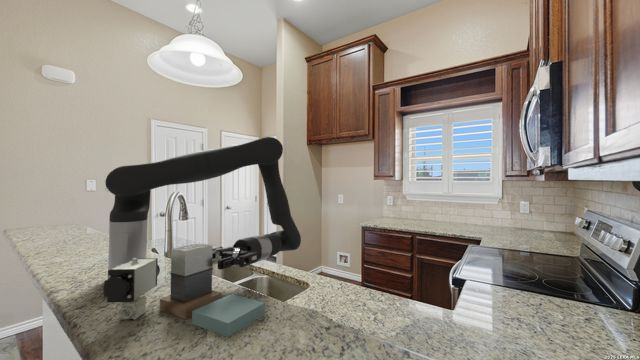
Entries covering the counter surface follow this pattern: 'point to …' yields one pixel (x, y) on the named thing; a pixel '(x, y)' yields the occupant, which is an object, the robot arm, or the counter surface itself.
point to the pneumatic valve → (131, 285)
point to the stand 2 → (228, 314)
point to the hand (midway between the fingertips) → (206, 262)
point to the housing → (191, 272)
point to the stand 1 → (187, 305)
